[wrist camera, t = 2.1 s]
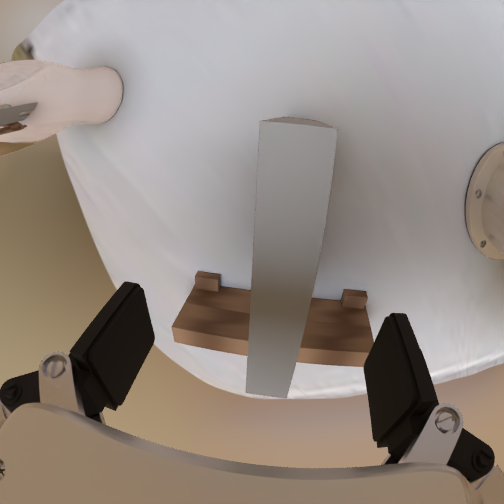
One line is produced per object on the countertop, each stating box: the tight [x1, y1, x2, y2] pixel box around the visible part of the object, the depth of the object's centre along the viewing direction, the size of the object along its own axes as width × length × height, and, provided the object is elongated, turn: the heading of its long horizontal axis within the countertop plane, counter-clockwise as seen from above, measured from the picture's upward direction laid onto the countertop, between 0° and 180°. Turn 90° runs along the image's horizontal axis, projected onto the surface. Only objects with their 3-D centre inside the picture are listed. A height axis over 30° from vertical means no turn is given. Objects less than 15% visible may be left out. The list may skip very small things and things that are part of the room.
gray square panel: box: [246, 117, 338, 398], centre depth 17 cm, size 2×14×14 cm, turn 178°
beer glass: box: [0, 60, 123, 156], centre depth 14 cm, size 7×7×15 cm
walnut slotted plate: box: [172, 271, 374, 367], centre depth 26 cm, size 18×5×7 cm, turn 87°
